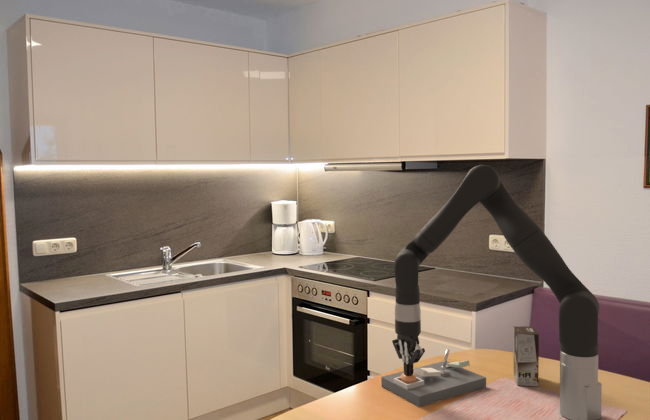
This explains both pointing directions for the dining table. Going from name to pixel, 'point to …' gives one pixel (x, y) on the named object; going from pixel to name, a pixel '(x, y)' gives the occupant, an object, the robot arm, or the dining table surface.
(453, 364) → the paddle switch
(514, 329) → the coffee box
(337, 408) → the dining table surface
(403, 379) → the push button
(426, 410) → the dining table surface
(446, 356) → the toggle lever
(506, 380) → the dining table surface
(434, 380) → the control panel
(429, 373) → the rocker switch
